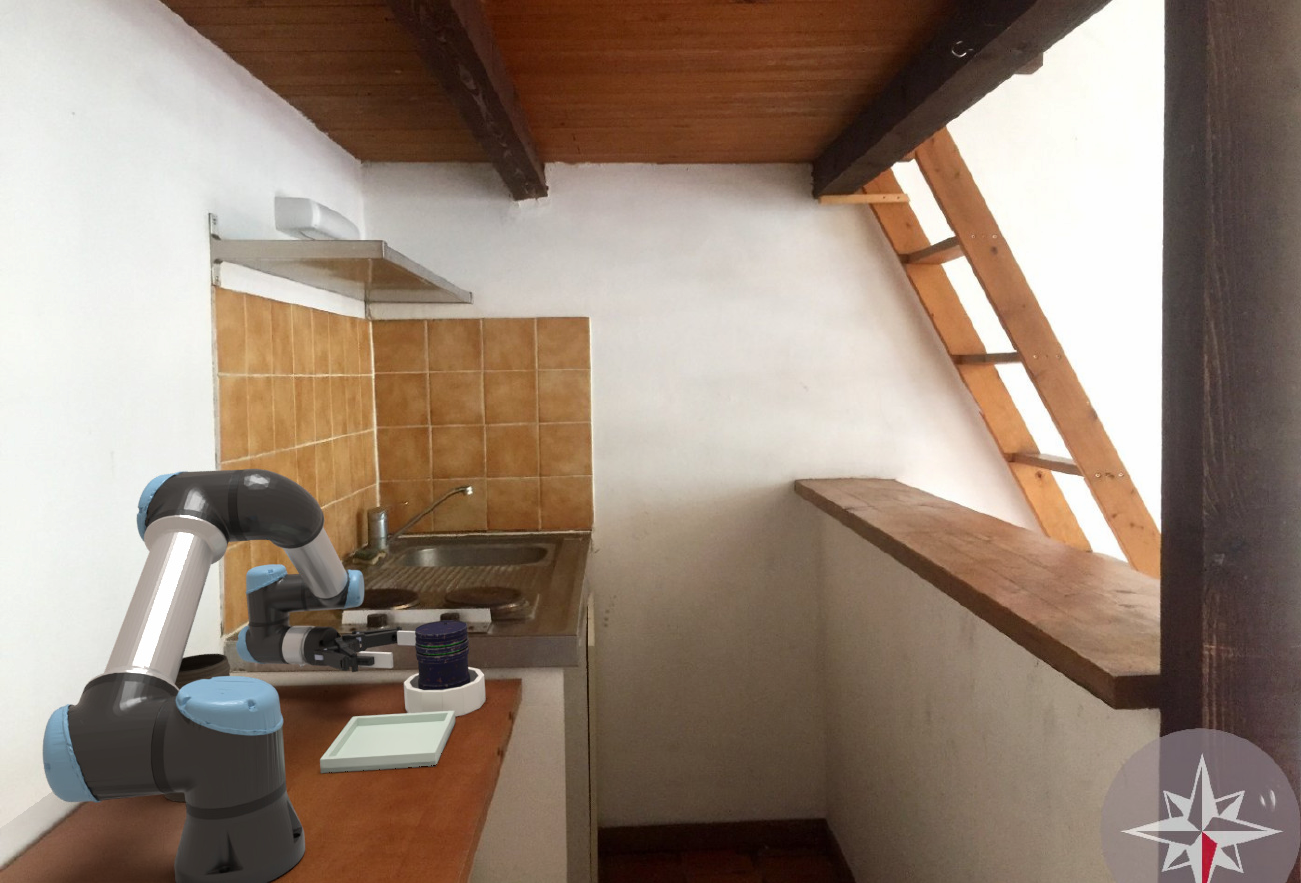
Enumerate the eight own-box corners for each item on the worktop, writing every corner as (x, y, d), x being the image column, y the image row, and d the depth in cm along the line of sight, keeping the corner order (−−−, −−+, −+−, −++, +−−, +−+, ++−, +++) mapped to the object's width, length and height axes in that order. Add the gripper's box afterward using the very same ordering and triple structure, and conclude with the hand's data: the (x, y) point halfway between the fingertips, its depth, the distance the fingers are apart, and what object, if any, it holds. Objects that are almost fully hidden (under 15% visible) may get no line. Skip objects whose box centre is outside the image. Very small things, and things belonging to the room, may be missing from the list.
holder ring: (442, 724, 156) (440, 697, 156) (390, 710, 165) (388, 684, 164) (500, 698, 168) (498, 673, 168) (448, 686, 176) (447, 662, 176)
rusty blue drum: (464, 713, 161) (460, 634, 160) (412, 715, 161) (407, 635, 160) (477, 694, 171) (473, 619, 170) (428, 695, 171) (423, 620, 170)
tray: (435, 766, 139) (435, 752, 139) (320, 773, 138) (319, 759, 138) (455, 722, 157) (454, 710, 157) (353, 728, 156) (352, 716, 156)
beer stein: (259, 770, 140) (242, 648, 139) (220, 802, 129) (201, 670, 128) (170, 776, 142) (152, 655, 141) (124, 808, 131) (104, 678, 130)
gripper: (350, 645, 185) (442, 648, 180) (273, 686, 161) (376, 691, 156) (348, 610, 185) (440, 612, 179) (270, 646, 160) (373, 649, 155)
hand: (410, 649), depth 168 cm, fingers open, 13 cm apart
